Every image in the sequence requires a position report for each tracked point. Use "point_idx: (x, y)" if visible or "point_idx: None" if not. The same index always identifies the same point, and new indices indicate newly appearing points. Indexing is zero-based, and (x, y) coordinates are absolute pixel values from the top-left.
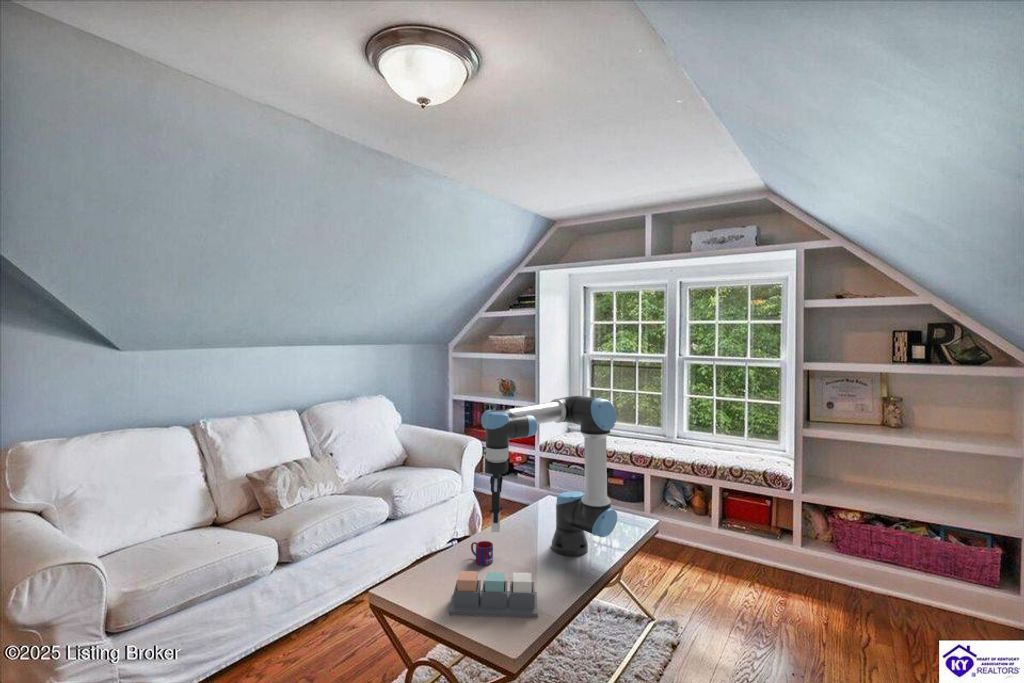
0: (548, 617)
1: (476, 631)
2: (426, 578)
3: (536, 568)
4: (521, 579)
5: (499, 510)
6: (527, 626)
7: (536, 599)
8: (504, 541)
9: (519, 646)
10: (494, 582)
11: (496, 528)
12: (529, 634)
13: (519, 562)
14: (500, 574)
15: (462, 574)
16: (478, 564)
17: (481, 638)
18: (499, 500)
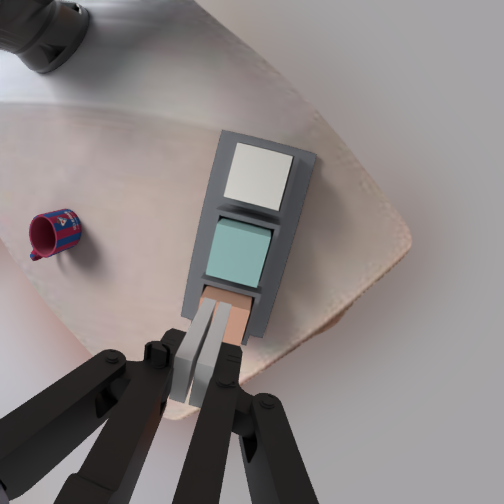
0: (318, 131)
1: (329, 292)
2: (125, 351)
3: (108, 110)
4: (270, 182)
5: (269, 405)
6: (341, 187)
7: (256, 138)
8: (7, 172)
9: (394, 222)
10: (263, 262)
11: (225, 328)
12: (366, 191)
13: (77, 146)
14: (228, 238)
15: None
16: (76, 243)
17: (353, 287)
18: (226, 455)
